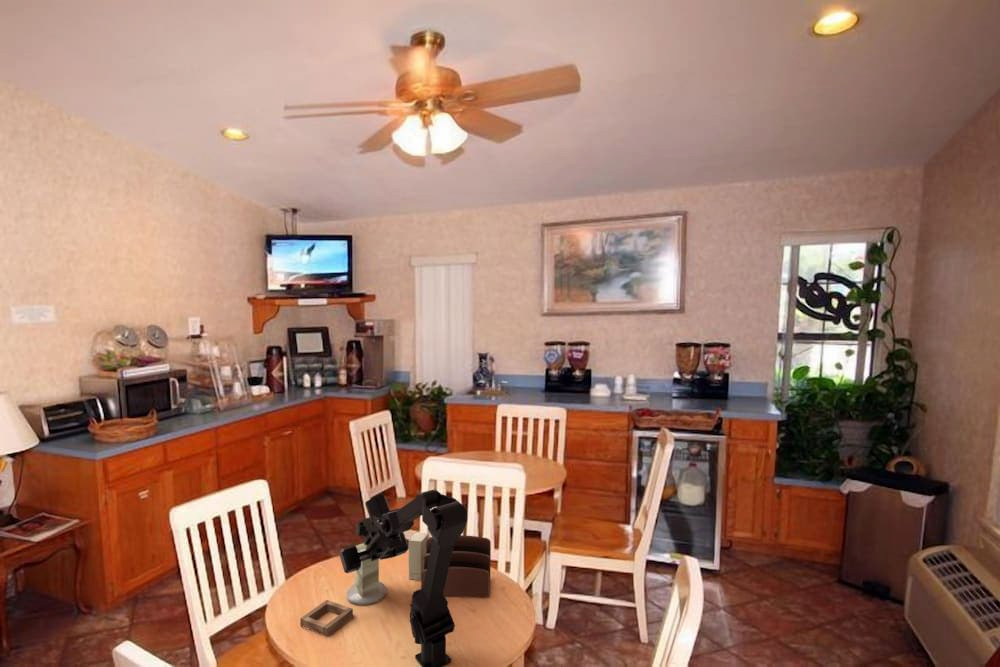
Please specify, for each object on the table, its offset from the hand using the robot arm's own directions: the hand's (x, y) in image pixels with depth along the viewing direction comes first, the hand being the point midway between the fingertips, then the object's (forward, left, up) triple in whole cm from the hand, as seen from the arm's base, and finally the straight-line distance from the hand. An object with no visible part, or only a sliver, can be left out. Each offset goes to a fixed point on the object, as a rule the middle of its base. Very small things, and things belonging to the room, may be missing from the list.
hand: (365, 563), depth 141 cm
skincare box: (0, -17, -9) cm, 19 cm away
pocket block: (-7, +13, -9) cm, 17 cm away
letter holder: (-12, -23, -9) cm, 28 cm away
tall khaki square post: (-1, 0, -8) cm, 8 cm away
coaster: (-1, 0, -9) cm, 9 cm away
